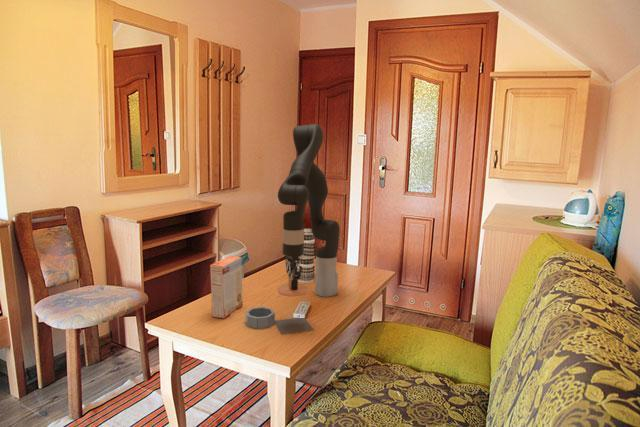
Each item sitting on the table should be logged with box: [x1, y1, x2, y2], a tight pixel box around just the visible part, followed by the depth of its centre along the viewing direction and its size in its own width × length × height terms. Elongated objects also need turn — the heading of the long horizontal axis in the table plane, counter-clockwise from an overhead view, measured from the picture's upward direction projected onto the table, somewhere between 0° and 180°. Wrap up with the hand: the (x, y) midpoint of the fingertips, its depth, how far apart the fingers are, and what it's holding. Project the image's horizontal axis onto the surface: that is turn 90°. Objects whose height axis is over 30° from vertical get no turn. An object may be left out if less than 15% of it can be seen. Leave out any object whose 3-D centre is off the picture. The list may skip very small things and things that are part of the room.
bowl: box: [245, 306, 276, 330], centre depth 160 cm, size 10×10×4 cm
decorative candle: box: [298, 227, 317, 284], centre depth 208 cm, size 9×9×25 cm
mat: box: [274, 317, 315, 336], centre depth 158 cm, size 12×12×1 cm
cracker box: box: [209, 255, 244, 319], centre depth 169 cm, size 14×6×21 cm, turn 160°
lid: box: [276, 276, 310, 298], centre depth 155 cm, size 11×11×5 cm
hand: (293, 287), depth 155 cm, fingers closed on lid, 2 cm apart
